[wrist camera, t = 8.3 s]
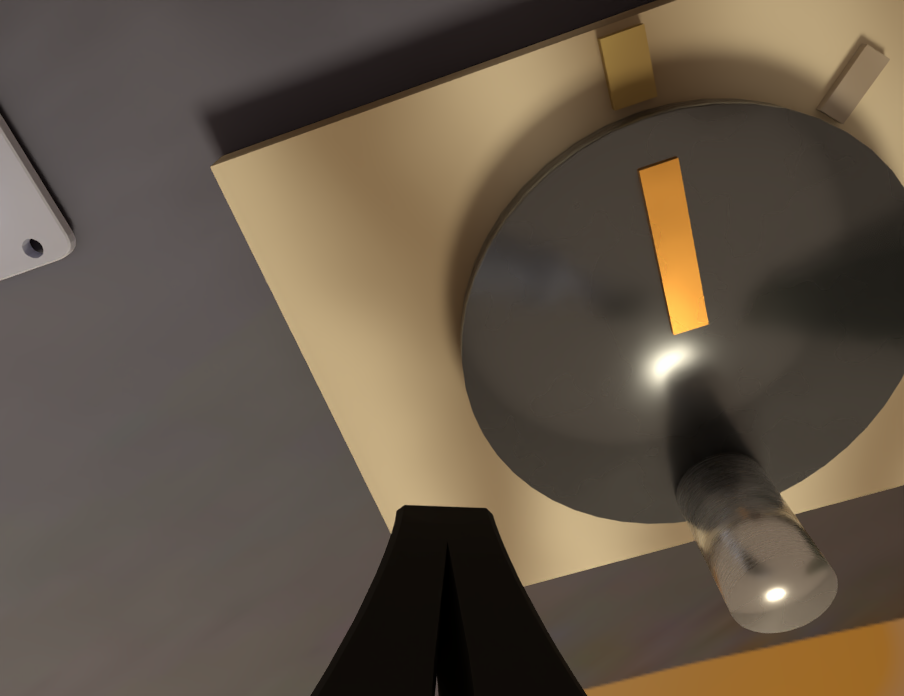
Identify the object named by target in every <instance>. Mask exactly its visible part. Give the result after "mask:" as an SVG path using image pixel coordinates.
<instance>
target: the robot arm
mask: <svg viewBox="0 0 904 696" xmlns="http://www.w3.org/2000/svg"><path fill="white" fill-rule="evenodd" d="M30 239H34V240H36V241H38V242H39V243H40V244H41V245H42V247H43V250H44V251H43V253H40V252H37V251H35V250H34V249H33V248H32V247H31V244H30ZM75 245H76V239H75V236H74V234H73V231H72V230H71V228H70V227H69V225H68V223H67V222H66V220H65V218H64V217H63V215H62V214H61V212H60V210H59V209H58V207H57V205H56V204H55V202H54V200H53V199H52V197H51V196H50V194H49V192H48V191H47V189H46V187H45V186H44V184H43V183H42V181H41V179H40V178H39V176H38V174H37V173H36V171H35V169H34V168H33V166H32V165H31V163H30V161H29V160H28V158H27V156H26V155H25V153H24V152H23V150H22V148H21V147H20V145H19V143H18V142H17V140H16V138H15V137H14V135H13V134H12V132H11V130H10V129H9V127H8V125H7V124H6V122H5V121H4V119H3V117H2V116H1V114H0V280H3V279H6V278H9V277H12V276H15V275H18V274H20V273H23V272H26V271H29V270H32V269H35V268H38V267H40V266H43V265H46V264H49V263H52V262H55V261H58V260H60V259H63V258H64V257H66V256H67V255H69V254H70V253H71V252H72V251H73V250H74V248H75ZM436 678H437V681H438V693H439V696H587V695H586V693H585V692H584V690H583V689H582V687H581V686H580V684H579V682H578V681H577V679H576V678H575V676H574V675H573V673H572V671H571V670H570V668H569V666H568V665H567V663H566V662H565V660H564V658H563V657H562V655H561V654H560V652H559V650H558V649H557V647H556V645H555V644H554V642H553V640H552V638H551V637H550V635H549V633H548V632H547V630H546V628H545V626H544V624H543V622H542V621H541V619H540V617H539V615H538V613H537V611H536V610H535V608H534V606H533V604H532V602H531V600H530V598H529V597H528V595H527V593H526V591H525V589H524V587H523V585H522V583H521V581H520V579H519V577H518V575H517V573H516V570H515V568H514V566H513V564H512V562H511V560H510V558H509V555H508V553H507V551H506V548H505V546H504V544H503V541H502V539H501V536H500V534H499V531H498V528H497V526H496V523H495V520H494V516H493V514H492V513H491V512H490V511H489V510H488V509H487V508H474V507H448V506H421V505H404V506H402V507H401V508H400V509H398V510H397V511H396V517H395V522H394V526H393V529H392V533H391V536H390V539H389V542H388V545H387V548H386V551H385V553H384V556H383V558H382V561H381V563H380V566H379V568H378V570H377V573H376V575H375V577H374V579H373V582H372V584H371V586H370V588H369V590H368V592H367V594H366V596H365V599H364V601H363V603H362V605H361V607H360V609H359V611H358V613H357V615H356V617H355V619H354V621H353V623H352V625H351V627H350V628H349V630H348V632H347V634H346V636H345V637H344V639H343V641H342V643H341V645H340V646H339V648H338V650H337V652H336V653H335V655H334V657H333V659H332V661H331V662H330V664H329V666H328V668H327V669H326V671H325V673H324V675H323V676H322V678H321V679H320V681H319V683H318V684H317V686H316V688H315V689H314V691H313V692H312V694H311V696H435V688H436Z"/></svg>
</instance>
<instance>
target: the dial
mask: <svg viewBox="0 0 904 696" xmlns="http://www.w3.org/2000/svg"><path fill="white" fill-rule="evenodd" d="M460 348H461V358H462V366H463V373H464V381H465V388H466V392H467V395H468V398H469V401H470V405H471V408H472V411H473V414H474V416H475V418H476V420H477V422H478V425H479V427H480V429H481V431H482V433H483V435H484V436H485V438H486V439H487V441H488V442H489V444H490V445H491V447H492V448H493V450H494V451H495V453H496V454H497V455H498V456H499V458H500V459H501V460H502V461H503V462H504V463H505V464H506V465H507V466H508V467H509V468H510V470H511V471H512V472H513V473H515V474H516V475H517V476H518V477H519V478H521V479H522V480H523V481H524V482H526V483H527V484H528V485H529V486H530V487H532V488H533V489H535V490H537V491H538V492H540V493H541V494H543V495H545V496H546V497H548V498H550V499H551V500H553V501H555V502H558V503H560V504H562V505H564V506H567V507H569V508H571V509H573V510H576V511H579V512H582V513H586V514H589V515H592V516H595V517H599V518H605V519H610V520H615V521H620V522H631V523H643V524H661V523H679V522H687V524H688V527H689V529H690V531H691V533H692V535H693V537H694V539H695V541H696V543H697V545H698V547H699V549H700V551H701V553H702V555H703V557H704V559H705V561H706V563H707V565H708V568H709V570H710V572H711V574H712V576H713V578H714V580H715V582H716V584H717V586H718V588H719V590H720V592H721V594H722V596H723V598H724V600H725V602H726V604H727V607H728V609H729V611H730V613H731V615H732V616H733V618H734V619H735V621H736V622H737V623H739V624H740V625H741V626H743V627H744V628H747V629H749V630H752V631H755V632H761V633H779V632H785V631H789V630H793V629H796V628H799V627H801V626H803V625H805V624H807V623H809V622H811V621H813V620H814V619H816V618H817V617H818V616H820V615H821V614H822V613H823V612H824V611H825V610H826V609H827V608H828V607H829V606H830V604H831V603H832V601H833V599H834V598H835V595H836V592H837V587H838V581H837V576H836V574H835V572H834V570H833V569H832V568H831V566H830V565H829V563H828V562H827V560H826V559H825V558H824V556H823V555H822V553H821V552H820V550H819V549H818V547H817V546H816V545H815V543H814V542H813V540H812V539H811V537H810V536H809V535H808V533H807V532H806V530H805V529H804V527H803V526H802V525H801V523H800V522H799V520H798V519H797V517H796V516H795V515H794V513H793V512H792V510H791V509H790V507H789V506H788V504H787V503H786V502H785V500H784V499H783V497H782V496H781V494H780V493H781V492H783V491H785V490H787V489H788V488H790V487H792V486H794V485H796V484H798V483H799V482H801V481H803V480H804V479H806V478H807V477H809V476H810V475H812V474H813V473H815V472H816V471H818V470H819V469H821V468H822V467H824V466H825V465H826V464H827V463H829V462H830V461H831V460H832V459H834V458H835V457H836V456H837V455H838V454H840V453H841V452H842V451H843V450H844V449H846V448H847V447H848V446H849V445H850V444H851V443H852V442H853V441H854V440H855V439H856V438H857V437H858V436H859V435H860V434H861V433H862V432H863V431H864V430H865V429H866V428H867V427H868V426H869V424H870V423H871V422H872V421H873V419H874V418H875V417H876V416H877V414H878V413H879V412H880V411H881V409H882V408H883V407H884V406H885V404H886V403H887V401H888V400H889V398H890V397H891V395H892V394H893V392H894V390H895V389H896V387H897V386H898V384H899V383H900V381H901V379H902V377H903V375H904V187H903V185H902V184H901V182H900V181H899V180H898V178H897V177H896V175H895V174H894V172H893V171H892V170H891V169H890V168H889V167H888V166H887V165H886V164H885V163H884V162H883V161H882V160H881V159H880V158H879V157H878V156H877V155H876V154H875V153H874V152H873V150H871V149H870V148H869V147H867V146H866V145H864V144H863V143H862V142H860V141H859V140H857V139H856V138H855V137H853V136H852V135H850V134H849V133H847V132H846V131H844V130H841V129H839V128H837V127H835V126H833V125H831V124H829V123H827V122H825V121H823V120H821V119H819V118H816V117H813V116H810V115H807V114H804V113H801V112H798V111H795V110H792V109H788V108H785V107H781V106H778V105H775V104H771V103H766V102H759V101H752V100H745V99H738V98H718V99H697V100H690V101H683V102H676V103H669V104H666V105H662V106H659V107H655V108H651V109H648V110H644V111H641V112H637V113H634V114H632V115H630V116H627V117H625V118H622V119H620V120H618V121H615V122H613V123H611V124H608V125H606V126H604V127H602V128H600V129H598V130H597V131H595V132H593V133H591V134H590V135H588V136H586V137H584V138H583V139H581V140H579V141H577V142H576V143H574V144H573V145H571V146H570V147H569V148H567V149H566V150H565V151H563V152H562V153H561V154H559V155H558V156H557V157H555V158H554V159H553V160H551V161H550V162H549V163H547V164H546V165H545V166H544V167H543V168H542V169H541V170H540V171H539V172H538V173H537V174H536V175H535V176H533V177H532V178H531V179H530V180H529V181H528V182H527V183H526V184H525V185H524V186H523V187H522V188H521V189H520V191H519V192H518V193H517V194H516V196H515V197H514V198H513V199H512V201H511V202H510V203H509V204H508V205H507V207H506V208H505V209H504V210H503V212H502V213H501V215H500V216H499V218H498V219H497V221H496V223H495V224H494V226H493V227H492V229H491V231H490V232H489V234H488V235H487V237H486V239H485V241H484V243H483V245H482V247H481V250H480V252H479V254H478V256H477V258H476V261H475V263H474V265H473V268H472V271H471V274H470V278H469V281H468V284H467V288H466V291H465V295H464V302H463V308H462V315H461V331H460Z"/></svg>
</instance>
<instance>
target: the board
mask: <svg viewBox="0 0 904 696" xmlns="http://www.w3.org/2000/svg"><path fill="white" fill-rule="evenodd" d="M718 98H738V99H745V100H752V101H759V102H766V103H771V104H775V105H778V106H781V107H785V108H788V109H792V110H795V111H798V112H801V113H804V114H807V115H810V116H813V117H816V118H819V119H821V120H823V121H825V122H827V123H829V124H831V125H833V126H835V127H837V128H839V129H841V130H844V131H846V132H847V133H849V134H850V135H852V136H853V137H855V138H856V139H857V140H859V141H860V142H862V143H863V144H864V145H866V146H867V147H869V148H870V149H871V150H873V152H874V153H875V154H876V155H877V156H878V157H879V158H880V159H881V160H882V161H883V162H884V163H885V164H886V165H887V166H888V167H889V168H890V169H891V170H892V171H893V172H894V174H895V175H896V177H897V178H898V180H899V181H900V182H901V184H902V185H903V187H904V0H656V1H653V2H651V3H648V4H645V5H642V6H639V7H637V8H634V9H631V10H628V11H625V12H623V13H620V14H617V15H614V16H612V17H609V18H606V19H603V20H600V21H598V22H595V23H592V24H589V25H586V26H584V27H581V28H578V29H575V30H572V31H570V32H567V33H564V34H561V35H559V36H556V37H553V38H550V39H547V40H545V41H542V42H539V43H536V44H533V45H531V46H528V47H525V48H522V49H519V50H517V51H514V52H511V53H508V54H505V55H503V56H500V57H497V58H494V59H492V60H489V61H486V62H483V63H480V64H478V65H475V66H472V67H469V68H466V69H464V70H461V71H458V72H455V73H452V74H450V75H447V76H444V77H441V78H439V79H436V80H433V81H430V82H427V83H425V84H422V85H419V86H416V87H413V88H411V89H408V90H405V91H402V92H399V93H397V94H394V95H391V96H388V97H385V98H383V99H380V100H377V101H374V102H372V103H369V104H366V105H363V106H360V107H358V108H355V109H352V110H349V111H346V112H344V113H341V114H338V115H335V116H332V117H330V118H327V119H324V120H321V121H319V122H316V123H313V124H310V125H307V126H305V127H302V128H299V129H296V130H293V131H291V132H288V133H285V134H282V135H279V136H277V137H274V138H271V139H268V140H265V141H263V142H260V143H257V144H254V145H252V146H249V147H246V148H243V149H240V150H238V151H235V152H232V153H229V154H226V155H224V156H222V157H221V158H220V159H219V160H217V161H216V162H215V163H214V164H213V165H212V166H210V168H211V170H212V172H213V174H214V176H215V178H216V180H217V182H218V184H219V186H220V188H221V190H222V192H223V194H224V196H225V198H226V200H227V202H228V204H229V206H230V208H231V210H232V212H233V214H234V216H235V218H236V220H237V222H238V224H239V226H240V228H241V230H242V232H243V235H244V237H245V239H246V241H247V243H248V245H249V247H250V249H251V251H252V253H253V255H254V257H255V259H256V261H257V263H258V265H259V267H260V269H261V271H262V273H263V275H264V277H265V279H266V281H267V283H268V285H269V287H270V289H271V291H272V293H273V295H274V297H275V299H276V301H277V303H278V305H279V307H280V310H281V312H282V314H283V316H284V318H285V320H286V322H287V324H288V326H289V328H290V330H291V332H292V334H293V336H294V338H295V340H296V342H297V344H298V346H299V348H300V350H301V352H302V354H303V356H304V358H305V360H306V362H307V364H308V366H309V368H310V370H311V372H312V374H313V376H314V378H315V380H316V382H317V385H318V387H319V389H320V391H321V393H322V395H323V397H324V399H325V401H326V403H327V405H328V407H329V409H330V411H331V413H332V415H333V417H334V419H335V421H336V423H337V425H338V427H339V429H340V431H341V433H342V435H343V437H344V439H345V441H346V443H347V445H348V447H349V449H350V451H351V453H352V455H353V457H354V460H355V462H356V464H357V466H358V468H359V470H360V472H361V474H362V476H363V478H364V480H365V482H366V484H367V486H368V488H369V490H370V492H371V494H372V496H373V498H374V500H375V502H376V504H377V506H378V508H379V510H380V512H381V514H382V516H383V518H384V520H385V522H386V524H387V526H388V528H389V530H390V532H391V533H392V529H393V526H394V522H395V517H396V511H397V510H398V509H400V508H401V507H402V506H404V505H421V506H448V507H474V508H487V509H488V510H489V511H490V512H491V513H492V514H493V516H494V520H495V523H496V526H497V528H498V531H499V534H500V536H501V539H502V541H503V544H504V546H505V548H506V551H507V553H508V555H509V558H510V560H511V562H512V564H513V566H514V568H515V570H516V573H517V575H518V577H519V579H520V581H521V583H522V585H523V586H527V585H531V584H535V583H538V582H542V581H546V580H550V579H553V578H557V577H561V576H565V575H568V574H572V573H576V572H580V571H583V570H587V569H591V568H595V567H598V566H602V565H606V564H610V563H613V562H617V561H621V560H625V559H628V558H632V557H636V556H640V555H643V554H647V553H651V552H655V551H658V550H662V549H666V548H670V547H673V546H677V545H681V544H685V543H688V542H692V541H695V539H694V537H693V535H692V533H691V531H690V529H689V527H688V524H687V522H679V523H661V524H643V523H631V522H620V521H615V520H610V519H605V518H599V517H595V516H592V515H589V514H586V513H582V512H579V511H576V510H573V509H571V508H569V507H567V506H564V505H562V504H560V503H558V502H555V501H553V500H551V499H550V498H548V497H546V496H545V495H543V494H541V493H540V492H538V491H537V490H535V489H533V488H532V487H530V486H529V485H528V484H527V483H526V482H524V481H523V480H522V479H521V478H519V477H518V476H517V475H516V474H515V473H513V472H512V471H511V470H510V468H509V467H508V466H507V465H506V464H505V463H504V462H503V461H502V460H501V459H500V458H499V456H498V455H497V454H496V453H495V451H494V450H493V448H492V447H491V445H490V444H489V442H488V441H487V439H486V438H485V436H484V435H483V433H482V431H481V429H480V427H479V425H478V422H477V420H476V418H475V416H474V414H473V411H472V408H471V405H470V401H469V398H468V395H467V392H466V388H465V381H464V373H463V366H462V358H461V348H460V331H461V315H462V308H463V302H464V295H465V291H466V288H467V284H468V281H469V278H470V274H471V271H472V268H473V265H474V263H475V261H476V258H477V256H478V254H479V252H480V250H481V247H482V245H483V243H484V241H485V239H486V237H487V235H488V234H489V232H490V231H491V229H492V227H493V226H494V224H495V223H496V221H497V219H498V218H499V216H500V215H501V213H502V212H503V210H504V209H505V208H506V207H507V205H508V204H509V203H510V202H511V201H512V199H513V198H514V197H515V196H516V194H517V193H518V192H519V191H520V189H521V188H522V187H523V186H524V185H525V184H526V183H527V182H528V181H529V180H530V179H531V178H532V177H533V176H535V175H536V174H537V173H538V172H539V171H540V170H541V169H542V168H543V167H544V166H545V165H546V164H547V163H549V162H550V161H551V160H553V159H554V158H555V157H557V156H558V155H559V154H561V153H562V152H563V151H565V150H566V149H567V148H569V147H570V146H571V145H573V144H574V143H576V142H577V141H579V140H581V139H583V138H584V137H586V136H588V135H590V134H591V133H593V132H595V131H597V130H598V129H600V128H602V127H604V126H606V125H608V124H611V123H613V122H615V121H618V120H620V119H622V118H625V117H627V116H630V115H632V114H634V113H637V112H641V111H644V110H648V109H651V108H655V107H659V106H662V105H666V104H669V103H676V102H683V101H690V100H697V99H718ZM902 485H904V375H903V377H902V379H901V381H900V383H899V384H898V386H897V387H896V389H895V390H894V392H893V394H892V395H891V397H890V398H889V400H888V401H887V403H886V404H885V406H884V407H883V408H882V409H881V411H880V412H879V413H878V414H877V416H876V417H875V418H874V419H873V421H872V422H871V423H870V424H869V426H868V427H867V428H866V429H865V430H864V431H863V432H862V433H861V434H860V435H859V436H858V437H857V438H856V439H855V440H854V441H853V442H852V443H851V444H850V445H849V446H848V447H847V448H846V449H844V450H843V451H842V452H841V453H840V454H838V455H837V456H836V457H835V458H834V459H832V460H831V461H830V462H829V463H827V464H826V465H825V466H824V467H822V468H821V469H819V470H818V471H816V472H815V473H813V474H812V475H810V476H809V477H807V478H806V479H804V480H803V481H801V482H799V483H798V484H796V485H794V486H792V487H790V488H788V489H787V490H785V491H783V492H781V493H780V494H781V496H782V497H783V499H784V500H785V502H786V503H787V504H788V506H789V507H790V509H791V510H792V512H793V513H794V514H797V513H801V512H805V511H808V510H812V509H816V508H820V507H823V506H827V505H831V504H835V503H838V502H842V501H846V500H850V499H853V498H857V497H861V496H865V495H868V494H872V493H876V492H880V491H883V490H887V489H891V488H895V487H898V486H902Z"/></svg>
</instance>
